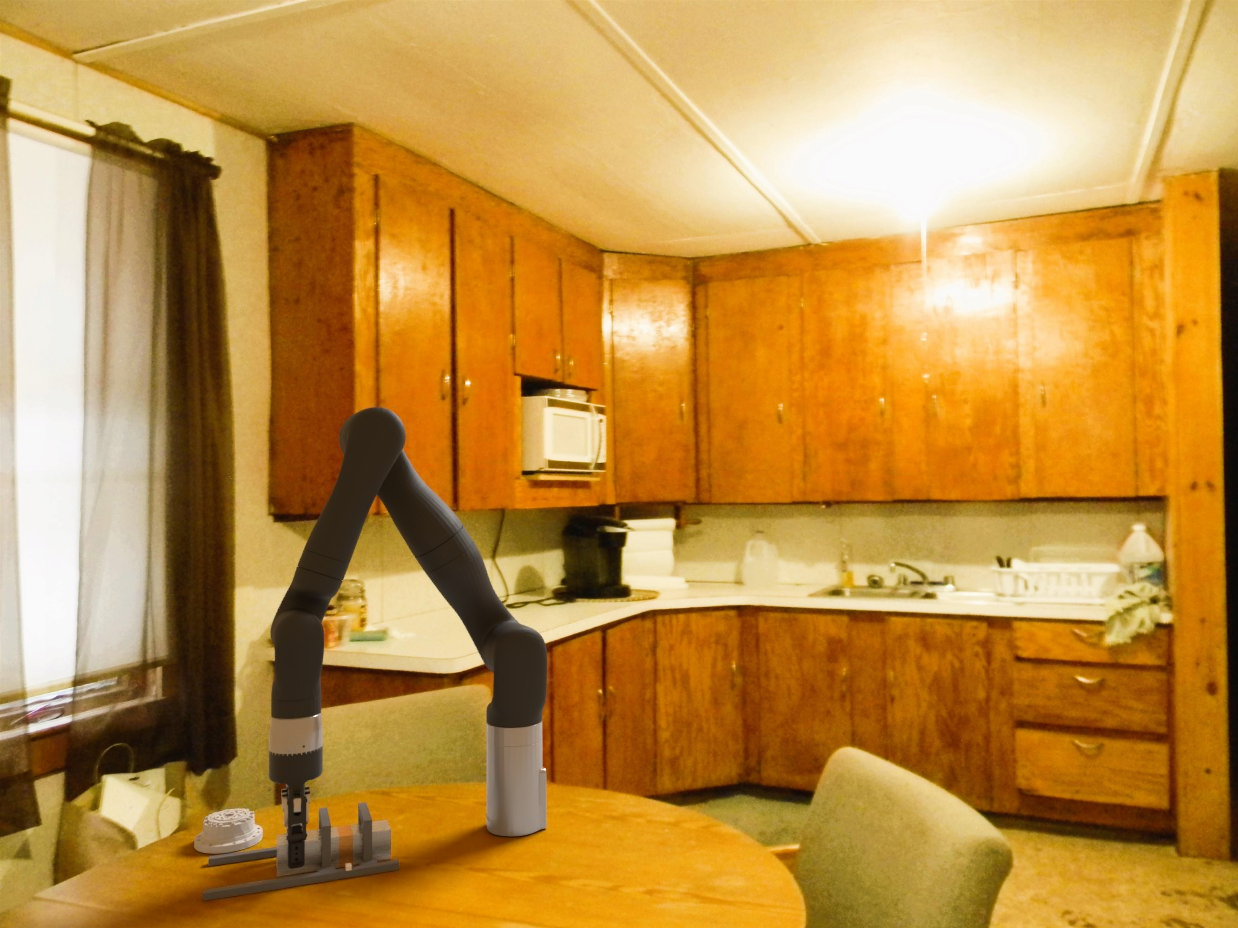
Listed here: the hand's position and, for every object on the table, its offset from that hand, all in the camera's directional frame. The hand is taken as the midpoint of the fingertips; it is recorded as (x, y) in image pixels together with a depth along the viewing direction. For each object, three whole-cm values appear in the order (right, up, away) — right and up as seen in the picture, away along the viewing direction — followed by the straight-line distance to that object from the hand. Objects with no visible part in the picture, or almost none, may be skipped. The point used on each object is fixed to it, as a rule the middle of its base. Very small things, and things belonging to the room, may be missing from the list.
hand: (295, 856), depth 129 cm
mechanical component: (-14, -3, +10) cm, 18 cm away
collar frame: (+1, -2, 0) cm, 2 cm away
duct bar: (+5, -2, +2) cm, 6 cm away
